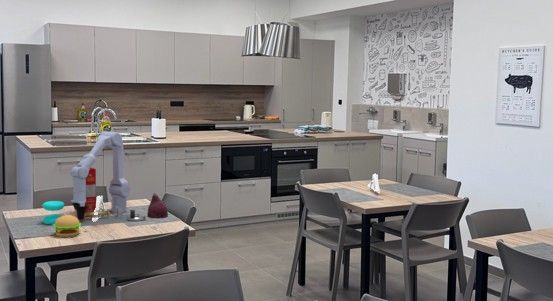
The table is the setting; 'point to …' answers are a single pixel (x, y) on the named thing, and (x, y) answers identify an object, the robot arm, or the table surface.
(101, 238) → the table surface
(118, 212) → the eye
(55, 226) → the hamburger
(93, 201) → the food packaging
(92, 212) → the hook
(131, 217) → the handwheel
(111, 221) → the board
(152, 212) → the vegetable
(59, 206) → the cyan stacked discs
